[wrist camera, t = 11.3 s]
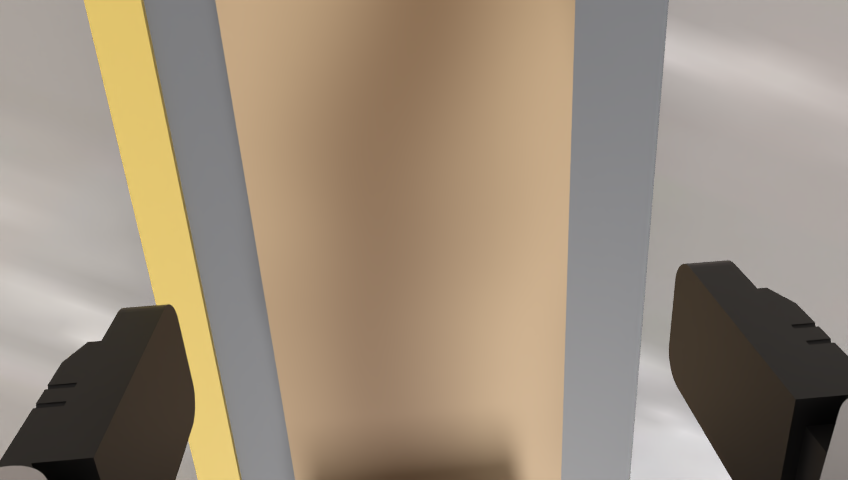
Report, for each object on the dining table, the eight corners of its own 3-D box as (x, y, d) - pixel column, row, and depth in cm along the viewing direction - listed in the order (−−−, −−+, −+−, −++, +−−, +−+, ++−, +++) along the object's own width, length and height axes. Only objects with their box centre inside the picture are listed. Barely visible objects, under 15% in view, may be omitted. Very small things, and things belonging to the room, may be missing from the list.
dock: (668, -722, 15) (743, -865, 12) (595, 536, 29) (621, 608, 26) (-21, -702, 14) (-118, -847, 11) (250, 569, 29) (237, 647, 26)
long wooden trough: (524, -715, 13) (634, -1107, 8) (522, 581, 26) (562, 755, 21) (154, -705, 12) (11, -1104, 7) (342, 599, 25) (337, 779, 20)
